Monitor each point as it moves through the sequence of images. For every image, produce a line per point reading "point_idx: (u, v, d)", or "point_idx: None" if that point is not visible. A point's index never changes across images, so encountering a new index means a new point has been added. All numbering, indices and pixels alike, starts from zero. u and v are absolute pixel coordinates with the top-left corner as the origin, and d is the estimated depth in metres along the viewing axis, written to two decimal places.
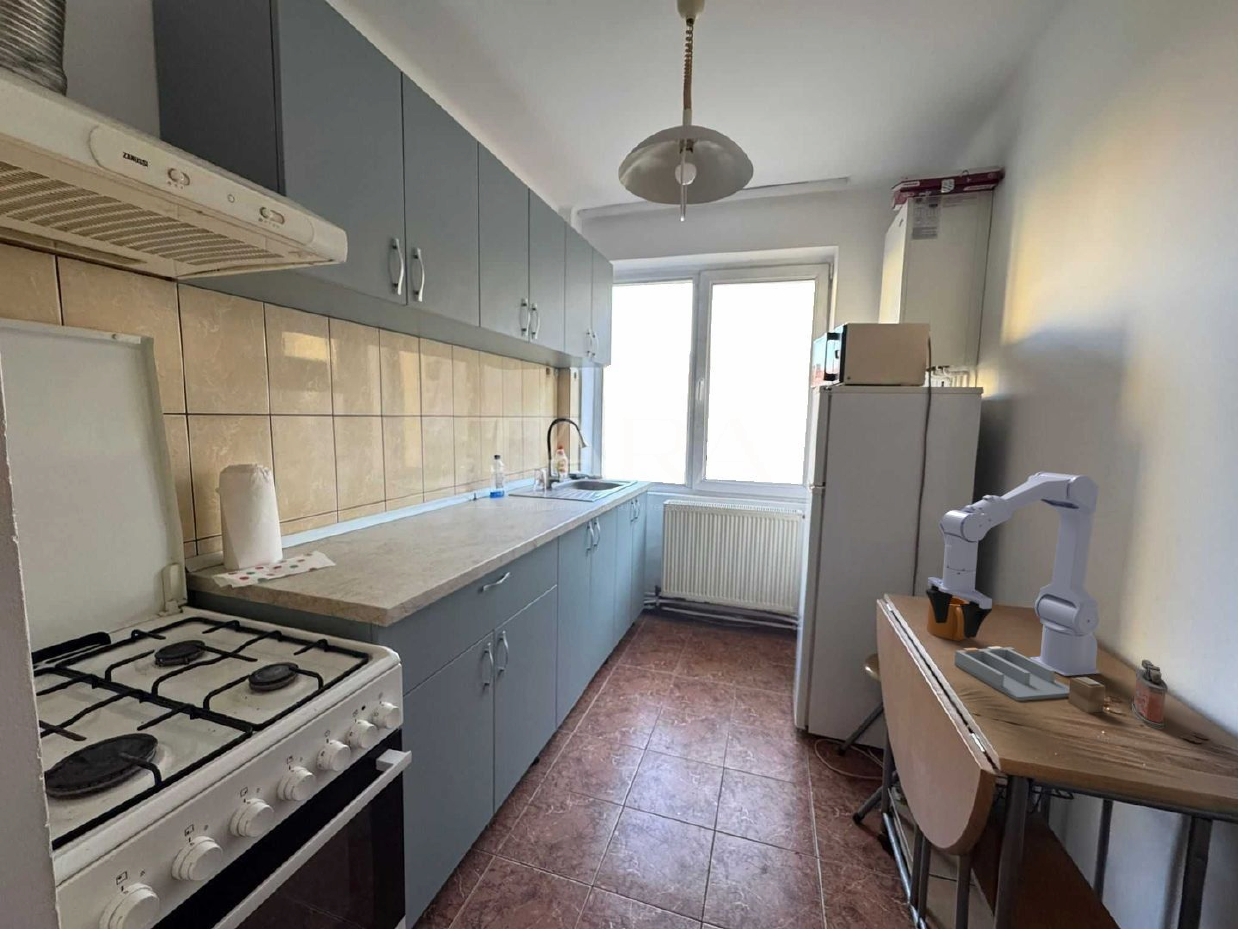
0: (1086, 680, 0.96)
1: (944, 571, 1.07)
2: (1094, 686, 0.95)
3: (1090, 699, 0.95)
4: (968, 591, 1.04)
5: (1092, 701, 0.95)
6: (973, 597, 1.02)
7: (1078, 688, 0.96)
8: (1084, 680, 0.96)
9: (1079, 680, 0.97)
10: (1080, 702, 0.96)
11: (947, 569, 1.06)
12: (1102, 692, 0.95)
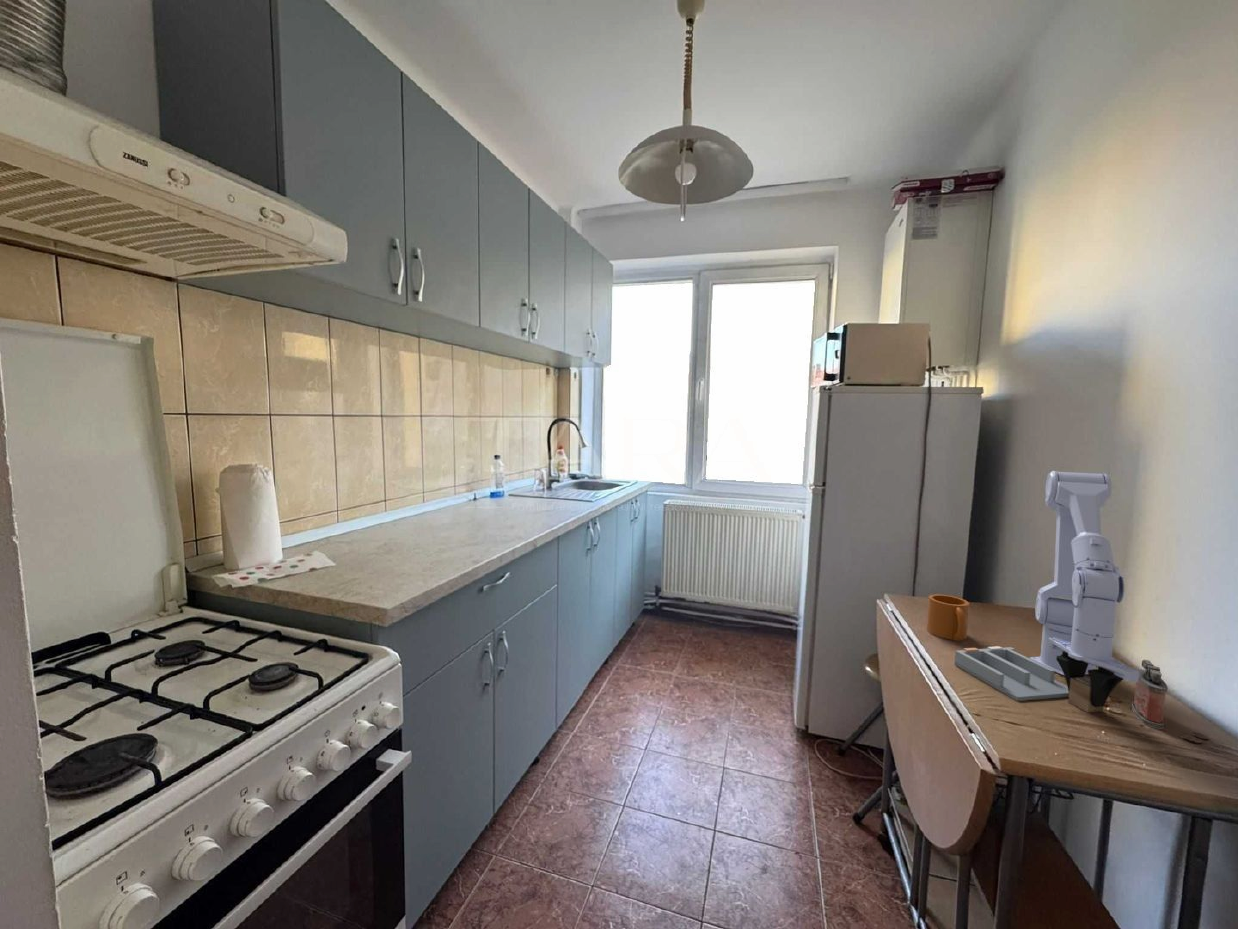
0: (1086, 680, 0.96)
1: (1074, 635, 0.96)
2: None
3: None
4: (1106, 659, 0.93)
5: None
6: (1115, 668, 0.91)
7: (1078, 688, 0.96)
8: (1084, 680, 0.96)
9: (1079, 680, 0.97)
10: (1080, 702, 0.96)
11: (1079, 633, 0.95)
12: None
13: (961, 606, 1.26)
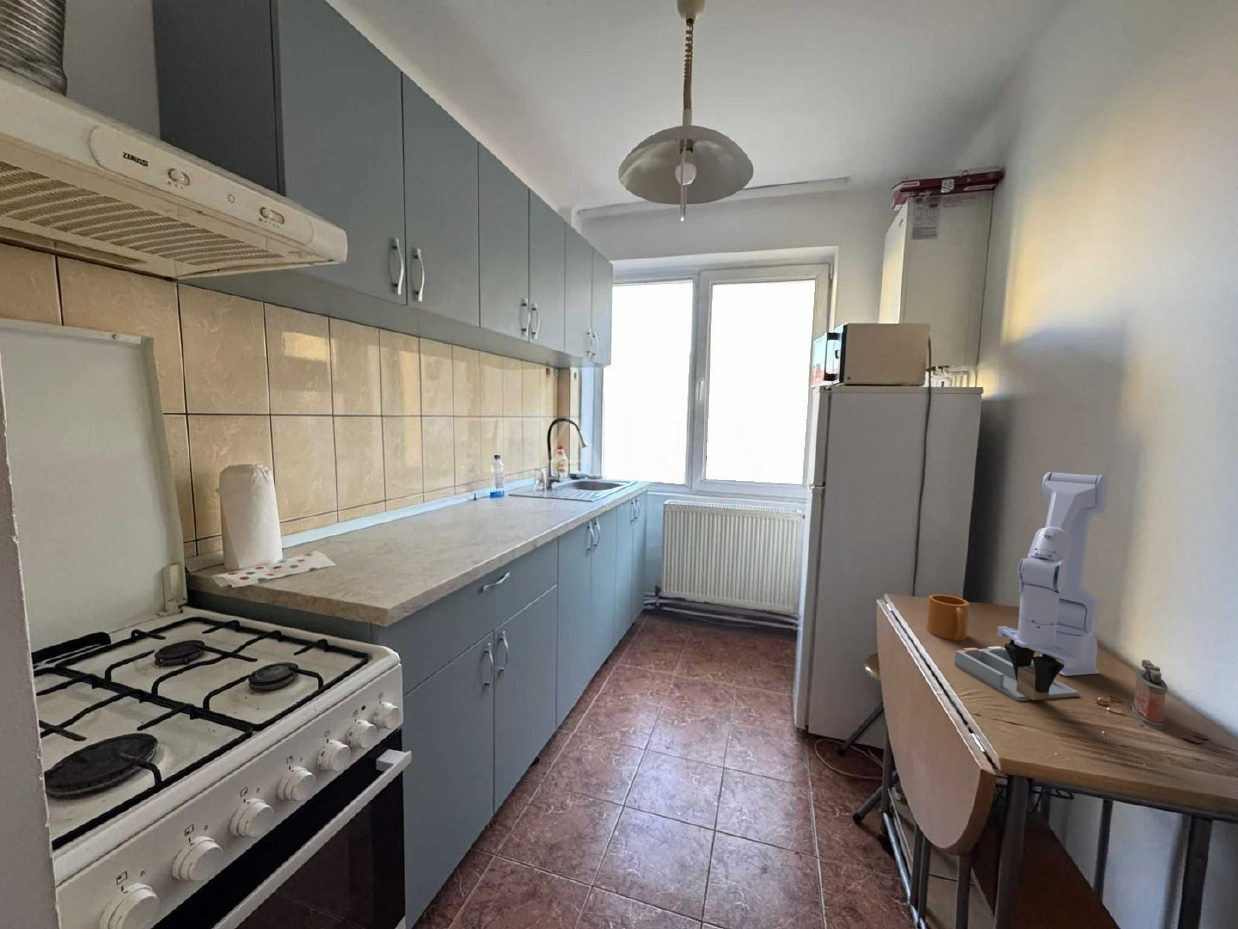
0: (1033, 668, 0.99)
1: (1020, 623, 0.99)
2: None
3: None
4: (1049, 647, 0.95)
5: None
6: (1057, 655, 0.93)
7: (1025, 676, 0.99)
8: (1031, 668, 0.99)
9: (1026, 668, 0.99)
10: (1026, 690, 0.99)
11: (1024, 621, 0.98)
12: None
13: (961, 606, 1.26)
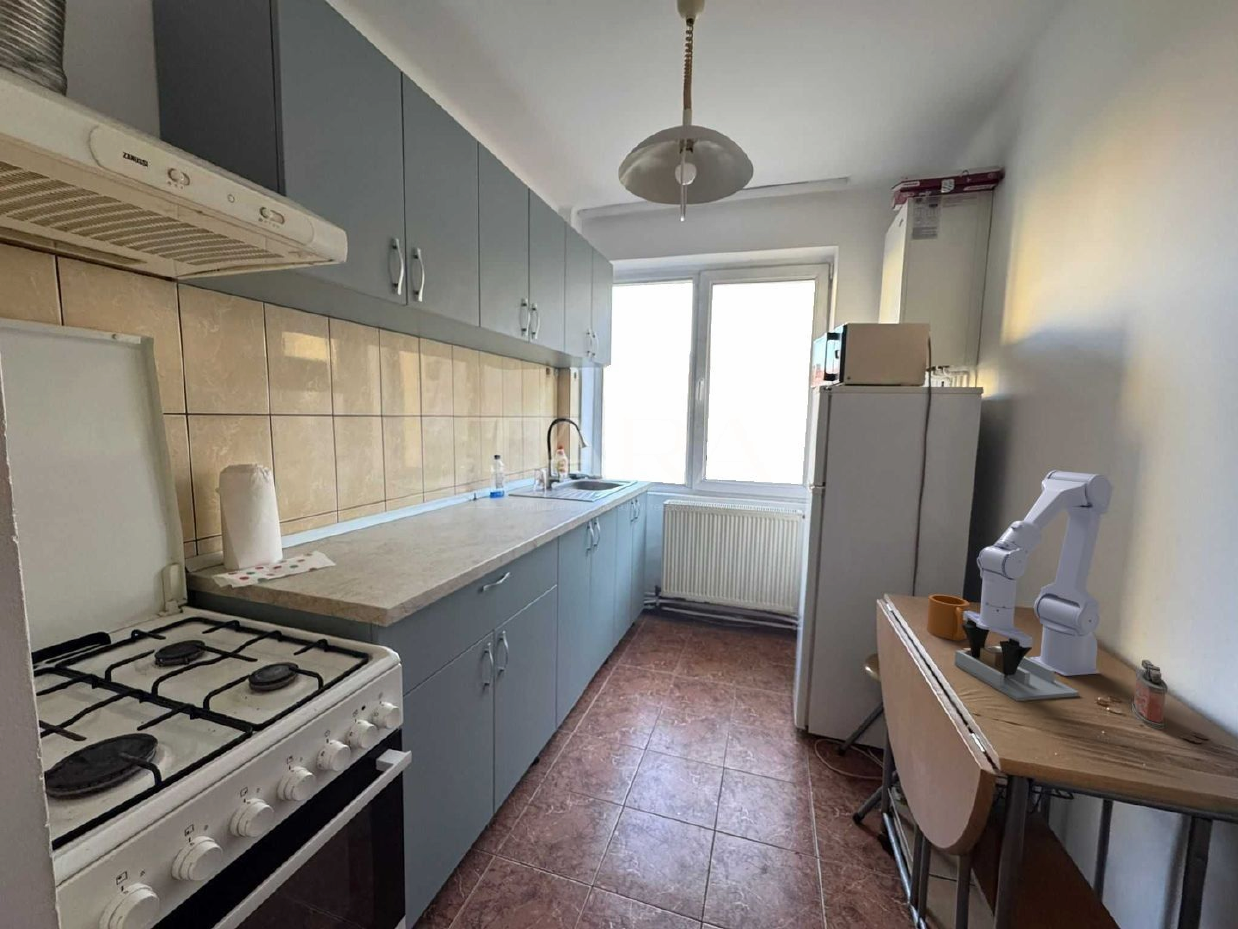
0: (993, 649, 1.07)
1: (982, 607, 1.07)
2: (999, 654, 1.06)
3: (996, 666, 1.06)
4: (1007, 628, 1.04)
5: (997, 667, 1.06)
6: (1013, 635, 1.02)
7: (986, 656, 1.07)
8: (992, 649, 1.07)
9: (987, 649, 1.08)
10: None
11: (985, 605, 1.06)
12: None
13: (961, 606, 1.26)
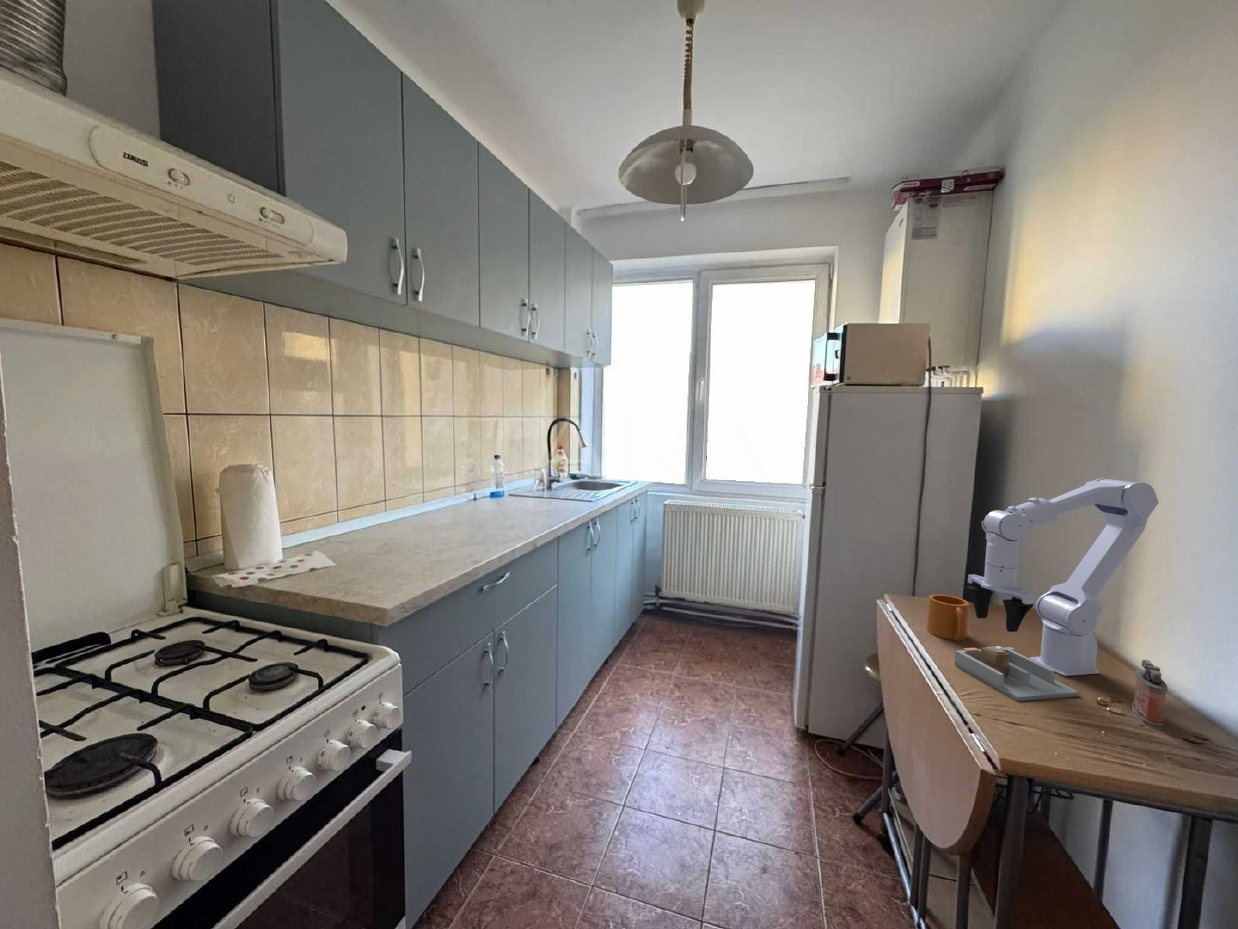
0: (993, 649, 1.07)
1: (986, 568, 1.12)
2: (999, 654, 1.06)
3: (996, 666, 1.06)
4: (1010, 587, 1.09)
5: (997, 667, 1.06)
6: (1016, 593, 1.07)
7: (986, 656, 1.07)
8: (992, 649, 1.07)
9: (987, 649, 1.08)
10: None
11: (989, 566, 1.11)
12: (1007, 659, 1.06)
13: (961, 606, 1.26)
